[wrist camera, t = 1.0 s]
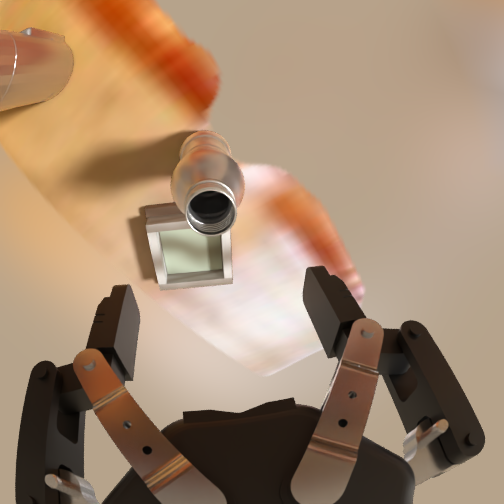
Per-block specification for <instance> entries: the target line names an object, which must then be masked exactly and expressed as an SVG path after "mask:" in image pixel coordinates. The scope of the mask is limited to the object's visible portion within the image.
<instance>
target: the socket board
mask: <svg viewBox="0 0 504 504" xmlns="http://www.w3.org/2000/svg"><path fill="white" fill-rule="evenodd" d="M145 213H146V219H147V222H146V230H147V235H148V240H149V245H150V249H151V254H152V258H153V263H154V267H155V271H156V275H157V280H158V284H159V287H160V291H162V290H173V289H184V288H195V287H205V286H216V285H225V284H233V281H232V280H233V271H232V250H231V229H229V230H228V231H227V232H226V233H224V234H222V235H219V236H215V237H207V236H203V235H200V234H198V233H196V232H195V231H194V230H192V229H191V227H190V226H189V225H188V223H187V221H186V218H185V214H183V213H182V212H181V210H180V209H179V208H178V207H177V205H176V203H165V204H157V205H148V206H146V207H145Z"/></svg>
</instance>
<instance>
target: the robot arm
mask: <svg viewBox="0 0 504 504" xmlns="http://www.w3.org/2000/svg"><path fill="white" fill-rule="evenodd" d="M64 38H65V37H64V36H62V35H59V34H55V33H52V32H48V31H44V30H40V29H36V28H27V29H25V30H23V31H21V32H12V31H5V30H0V111H4V110H8V109H11V108H15V107H20V106H24V105H28V104H33V103H40V102H43V101H47V100H49V99H52V98H53V97H55V96H56V95H57V94H59V93H60V92H61V91H62V90H63V88H64V87H65V85H66V84H67V82H68V80H69V78H70V76H71V73H72V69H73V54H72V51H71V49H70V47H69V46H68V45H67V44H66V43H65V41H64ZM303 302H304V305H305V308H306V310H307V312H308V314H309V316H310V319H311V321H312V323H313V325H314V328H315V330H316V332H317V334H318V337H319V339H320V341H321V343H322V346H323V348H324V350H325V352H326V354H327V357H328V358H333V357H337V358H338V364H337V367H336V369H335V372H334V375H333V378H332V380H331V383H330V385H329V388H328V391H327V393H326V396H325V398H324V400H323V402H322V405H321V407H320V409H317V408H315V407H312V406H307V405H301V404H295V401H294V398H288V399H283V400H278V401H272V402H267V403H265V404H262V405H260V406H257V407H254V408H252V409H249V410H247V411H244V412H241V413H234V412H224V411H215V410H201V411H187V412H183V419H180V420H178V421H175V422H173V423H171V424H170V425H168V426H167V427H165V428H164V429H163V430H161V431H160V430H159V429H158V428H157V427H156V426H155V425H154V423H153V422H152V421H151V420H150V419H149V417H148V416H147V415H146V414H145V413H144V411H143V410H142V409H141V408H140V407H139V405H138V404H137V403H136V401H135V400H134V399H133V397H132V396H131V395H130V393H129V392H128V391H127V389H126V388H125V387H124V386H125V381H133V375H134V365H135V356H136V348H137V340H138V332H139V324H140V313H139V309H138V306H137V303H136V300H135V297H134V294H133V291H132V288H131V286H130V285H115V286H114V287H113V289H112V292H111V295H110V297H105V298H104V299H103V300H102V301H101V303H100V304H99V305H98V308H97V311H96V314H95V315H96V316H95V318H94V321H93V324H92V328H91V331H90V335H89V338H88V342H87V346H86V349H85V350H83V351H81V352H80V353H79V354H78V355H77V356H76V357H75V359H74V361H73V363H71V364H68V365H64V366H61V367H56V366H55V365H54V364H53V363H52V362H50V361H42V362H39V363H38V364H37V365H36V366H34V368H33V369H32V371H31V375H30V379H29V383H28V387H27V391H26V396H25V401H24V406H23V412H22V418H21V424H20V431H19V439H18V448H17V459H16V482H15V486H16V487H15V488H16V489H15V492H16V496H15V497H16V504H99V503H98V501H97V499H96V497H95V493H94V490H93V487H92V486H91V484H90V483H89V482H88V481H87V480H85V479H84V429H85V412H86V410H90V409H93V410H94V412H95V414H96V416H97V417H98V419H99V421H100V422H101V424H102V425H103V427H104V428H105V430H106V431H107V433H108V434H109V436H110V437H111V439H112V440H113V442H114V443H115V445H116V446H117V447H118V449H119V450H120V451H121V453H122V454H123V455H124V457H125V458H126V459H127V461H128V462H129V463H130V465H131V466H132V467H131V468H130V470H129V471H128V472H127V473H126V474H125V476H124V477H123V478H122V479H121V481H120V482H119V483H118V484H117V485H116V487H115V488H114V489H113V490H112V491H111V493H110V494H109V495H108V496H107V498H105V500H104V501H103V502H102V504H413V495H414V490H415V486H417V485H418V484H421V483H423V482H424V481H426V480H428V479H430V478H433V477H436V476H439V475H441V474H443V473H445V472H447V471H449V470H451V469H453V468H455V467H456V466H458V465H460V464H462V463H464V462H465V461H467V460H469V459H471V458H472V457H474V456H476V455H477V454H479V453H480V452H481V450H482V449H483V447H484V443H485V435H484V432H483V429H482V427H481V425H480V423H479V421H478V419H477V417H476V415H475V413H474V411H473V409H472V407H471V405H470V403H469V401H468V399H467V397H466V395H465V393H464V391H463V389H462V388H461V386H460V384H459V382H458V380H457V379H456V377H455V375H454V373H453V371H452V370H451V368H450V366H449V365H448V363H447V361H446V360H445V358H444V356H443V355H442V353H441V351H440V350H439V348H438V346H437V345H436V344H435V342H434V340H433V338H432V337H431V335H430V334H429V332H428V331H427V329H426V328H425V327H424V326H423V325H422V324H421V323H419V322H417V321H411V320H410V321H406V322H404V323H403V324H402V325H401V328H400V329H384V328H382V326H381V325H380V324H379V323H378V322H376V321H374V320H372V319H368V318H366V316H365V315H364V313H363V311H362V310H361V308H360V307H359V305H358V304H357V302H356V300H355V299H354V297H352V294H351V293H350V291H349V290H348V288H347V286H346V285H345V283H344V282H343V281H342V280H341V279H339V278H338V277H337V276H335V275H331V276H330V274H329V273H328V271H327V270H326V268H325V267H324V266H315V267H308V268H307V269H306V275H305V281H304V288H303ZM379 375H382V376H383V379H384V381H385V383H386V385H387V388H388V390H389V392H390V394H391V397H392V399H393V401H394V404H395V406H396V408H397V410H398V413H399V415H400V418H401V420H402V423H403V425H404V428H405V430H406V433H407V436H406V437H405V439H404V443H403V447H404V450H403V452H404V454H405V455H404V459H403V458H402V457H400V456H398V455H396V454H394V453H392V452H391V451H389V450H387V449H385V448H383V447H381V446H380V445H378V444H376V443H374V442H373V441H371V440H369V439H368V438H366V437H364V436H363V433H364V429H365V426H366V423H367V419H368V416H369V413H370V409H371V405H372V401H373V398H374V394H375V390H376V386H377V382H378V377H379Z"/></svg>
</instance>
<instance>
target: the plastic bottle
mask: <svg viewBox="0 0 504 504" xmlns="http://www.w3.org/2000/svg"><path fill="white" fill-rule="evenodd" d="M179 158H180V162H179V163H178V165H177V166H176V168H175V169H174V171H173V174H172V177H171V184H170V185H171V193H172V197H173V199H174V201H175V203H176V205H177V207H178V208H179V209H180V210H181V212H182V213H183V214H185V218H186V221H187V223H188V225H189V226H190V227H191V229H192V230H194V231H195V232H196V233H198V234H200V235H203V236H207V237H215V236H219V235H222V234H224V233H226V232H227V231H228V230H229V229H231V227H232V226H233V225H234V222H235V220H236V216H237V208H238V207H239V205H240V203H241V201H242V198H243V195H244V191H245V181H244V176H243V173H242V171H241V169H240V167H239V166H238V164H237V163H236V162H235V161H234V160H233V159H232V158H231V150H230V147H229V145H228V143H227V141H226V140H225V139H224V138H223V137H222V136H221V135H219V134H218V133H215V132H213V131H198V132H195V133H193V134H191V135H190V136H188V137H187V138H186V139H185V141H184V142H183V144H182V146H181V148H180V153H179Z"/></svg>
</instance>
